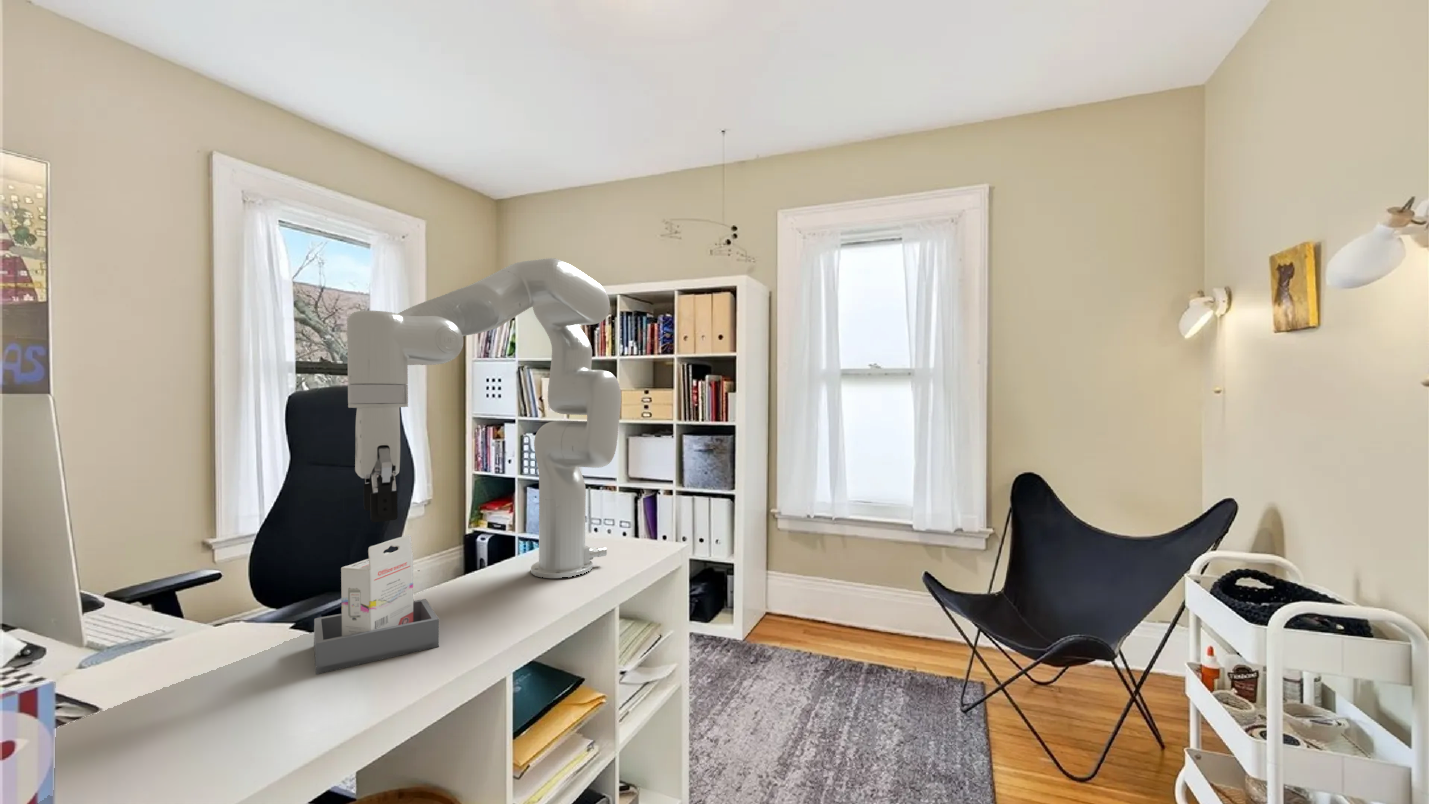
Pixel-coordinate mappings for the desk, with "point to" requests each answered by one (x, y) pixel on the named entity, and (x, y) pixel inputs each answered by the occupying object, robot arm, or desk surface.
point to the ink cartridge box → (378, 588)
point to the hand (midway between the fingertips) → (380, 514)
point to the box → (373, 640)
